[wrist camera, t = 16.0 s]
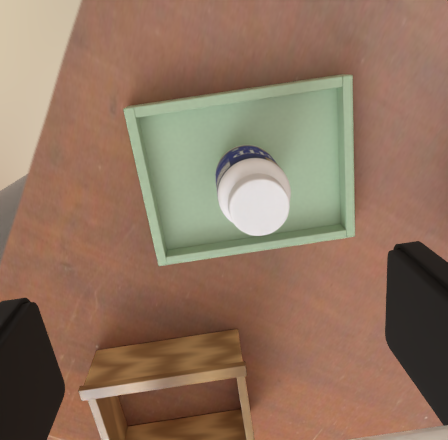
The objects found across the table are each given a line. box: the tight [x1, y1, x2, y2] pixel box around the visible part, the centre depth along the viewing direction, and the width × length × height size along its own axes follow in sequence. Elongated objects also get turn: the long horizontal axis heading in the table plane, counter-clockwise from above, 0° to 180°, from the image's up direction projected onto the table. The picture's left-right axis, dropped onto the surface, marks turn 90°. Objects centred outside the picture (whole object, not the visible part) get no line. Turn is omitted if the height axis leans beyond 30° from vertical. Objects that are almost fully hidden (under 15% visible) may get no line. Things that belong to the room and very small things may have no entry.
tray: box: [123, 74, 355, 266], centre depth 33 cm, size 18×14×2 cm
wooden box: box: [78, 329, 255, 440], centre depth 40 cm, size 15×12×6 cm
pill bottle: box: [215, 145, 291, 236], centre depth 30 cm, size 5×5×9 cm
